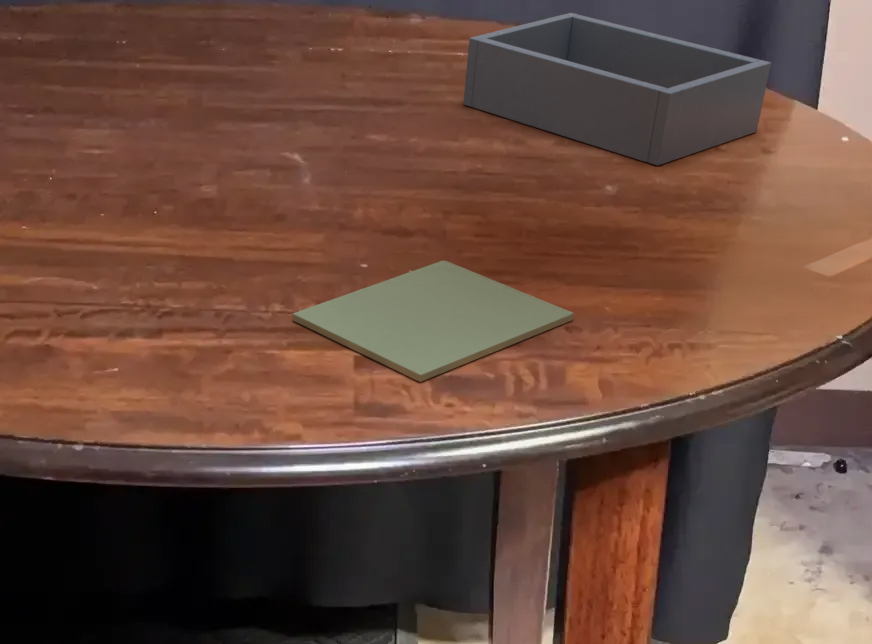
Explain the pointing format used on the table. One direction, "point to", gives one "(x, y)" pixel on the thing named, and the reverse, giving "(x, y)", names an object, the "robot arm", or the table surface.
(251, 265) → the table surface
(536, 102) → the box
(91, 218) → the table surface
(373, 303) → the mat
